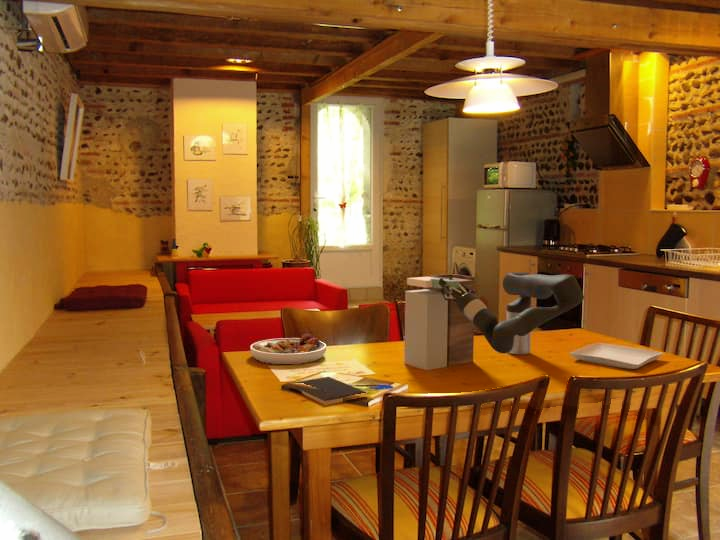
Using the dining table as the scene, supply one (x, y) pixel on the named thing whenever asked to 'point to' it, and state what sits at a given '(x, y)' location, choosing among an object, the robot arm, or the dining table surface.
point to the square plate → (616, 355)
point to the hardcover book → (328, 390)
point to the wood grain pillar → (458, 326)
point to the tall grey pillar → (426, 329)
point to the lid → (431, 282)
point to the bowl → (288, 350)
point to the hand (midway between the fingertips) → (444, 280)
